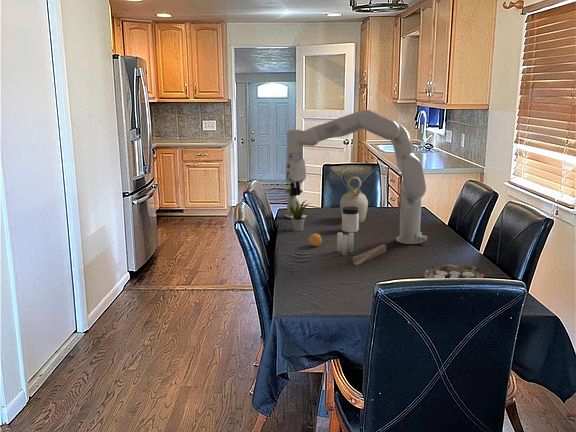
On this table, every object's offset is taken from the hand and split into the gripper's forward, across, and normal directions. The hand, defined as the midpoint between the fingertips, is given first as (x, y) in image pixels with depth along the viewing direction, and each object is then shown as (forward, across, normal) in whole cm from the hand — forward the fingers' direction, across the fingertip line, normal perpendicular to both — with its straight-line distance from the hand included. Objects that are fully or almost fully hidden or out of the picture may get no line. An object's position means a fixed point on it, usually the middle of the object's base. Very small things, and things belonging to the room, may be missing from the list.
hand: (295, 195), depth 251 cm
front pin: (+23, 0, -26) cm, 34 cm away
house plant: (+23, +20, +13) cm, 33 cm away
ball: (+20, 0, -12) cm, 23 cm away
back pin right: (+23, +2, -30) cm, 38 cm away
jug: (+23, +54, +2) cm, 59 cm away
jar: (+23, +34, -8) cm, 42 cm away
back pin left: (+23, -2, -30) cm, 38 cm away
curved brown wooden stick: (+23, 0, -42) cm, 48 cm away
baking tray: (+24, -8, -83) cm, 86 cm away
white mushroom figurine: (+23, +40, +34) cm, 57 cm away
